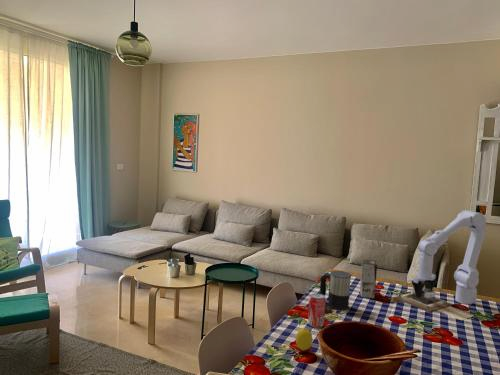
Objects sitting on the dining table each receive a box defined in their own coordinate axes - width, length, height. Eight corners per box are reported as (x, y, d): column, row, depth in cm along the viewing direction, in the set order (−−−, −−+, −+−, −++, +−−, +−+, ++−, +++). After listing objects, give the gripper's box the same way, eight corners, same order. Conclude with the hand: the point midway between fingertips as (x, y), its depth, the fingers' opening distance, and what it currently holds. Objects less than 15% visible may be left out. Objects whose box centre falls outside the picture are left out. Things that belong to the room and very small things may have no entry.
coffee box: (375, 298, 188) (377, 265, 187) (360, 296, 190) (363, 263, 188) (373, 292, 197) (375, 260, 196) (359, 290, 199) (362, 259, 197)
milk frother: (350, 304, 179) (352, 272, 178) (346, 317, 164) (349, 282, 163) (318, 299, 184) (320, 267, 183) (312, 311, 169) (314, 277, 168)
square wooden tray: (416, 295, 196) (416, 289, 196) (451, 308, 181) (452, 301, 181) (393, 301, 186) (393, 295, 186) (429, 315, 171) (429, 308, 171)
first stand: (449, 309, 179) (450, 306, 179) (474, 318, 170) (475, 315, 170) (436, 314, 173) (436, 310, 173) (461, 323, 164) (461, 320, 164)
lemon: (293, 346, 137) (295, 324, 137) (309, 346, 138) (310, 324, 137) (296, 354, 132) (298, 331, 131) (313, 354, 132) (314, 331, 132)
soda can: (314, 329, 151) (316, 299, 150) (304, 323, 157) (306, 293, 156) (327, 327, 154) (329, 297, 153) (317, 320, 160) (319, 291, 159)
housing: (418, 296, 188) (419, 285, 187) (434, 302, 181) (435, 291, 181) (412, 298, 185) (413, 287, 184) (428, 304, 178) (429, 292, 178)
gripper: (424, 271, 174) (421, 301, 176) (442, 267, 183) (440, 296, 184) (410, 267, 180) (407, 296, 181) (428, 263, 188) (426, 291, 190)
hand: (423, 295), depth 183 cm, fingers open, 7 cm apart
